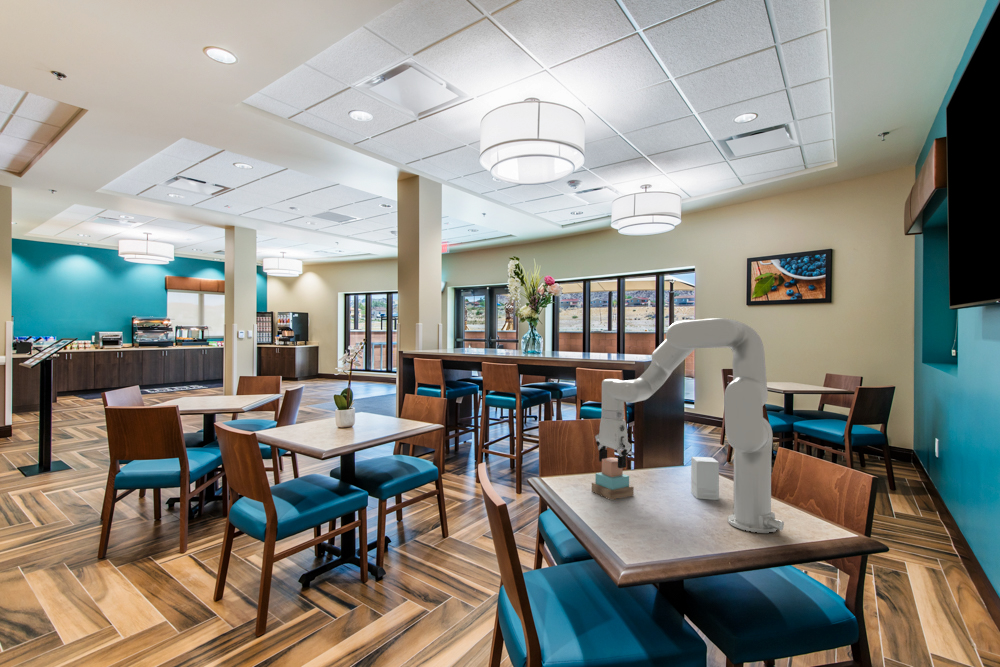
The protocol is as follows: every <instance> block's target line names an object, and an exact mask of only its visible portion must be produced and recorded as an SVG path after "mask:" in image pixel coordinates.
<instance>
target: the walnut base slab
mask: <svg viewBox="0 0 1000 667" xmlns="http://www.w3.org/2000/svg"><path fill="white" fill-rule="evenodd" d="M592 491H594V492H596V493H598V494H597V495H599V494H600V495H599V496H601V495H602V496H601V497H603V496H604V498H605V497H607V498H606V499H608V498H609V499H608V500H610V499H613V500H617V499H616V498H619V499H622V498H621V497H624V498H628V497H627V496H629V497H633V496H632V495H634V494H635V492H634V486H633V485H630V484H629V486H628V487H624V488H619V489H614V490H611V489H608V488H606V487H603V486H600V485H598V484H595V481H594V482H591V492H592ZM594 492H593V493H594ZM596 493H595V494H596ZM634 496H635V495H634Z"/></svg>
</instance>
